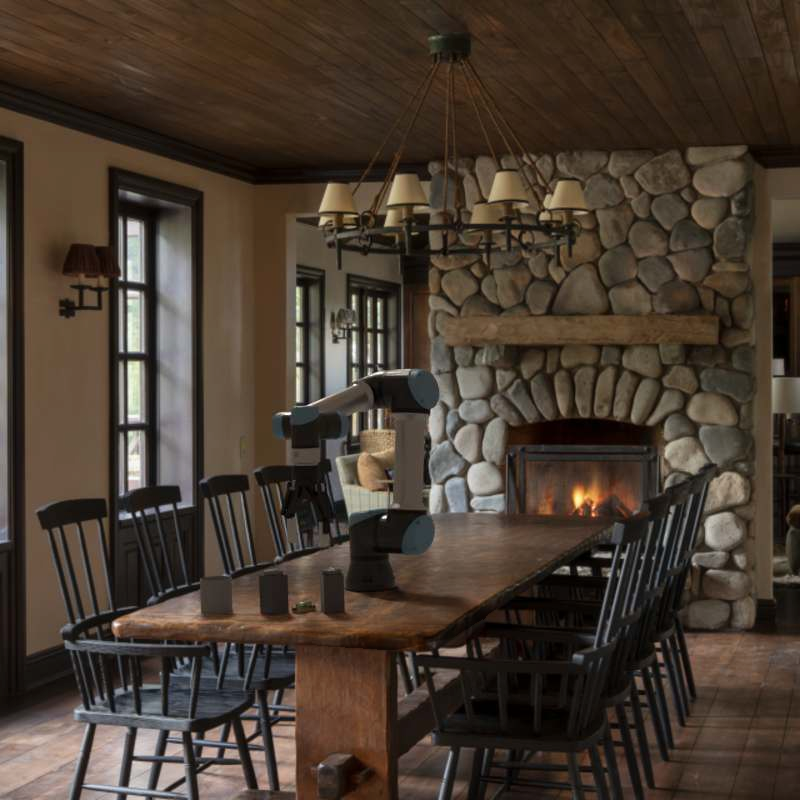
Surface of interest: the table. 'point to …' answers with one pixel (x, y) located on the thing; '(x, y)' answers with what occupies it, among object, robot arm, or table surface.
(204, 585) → the cup
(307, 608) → the bubble vial
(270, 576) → the knob
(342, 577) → the knob
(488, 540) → the table surface
